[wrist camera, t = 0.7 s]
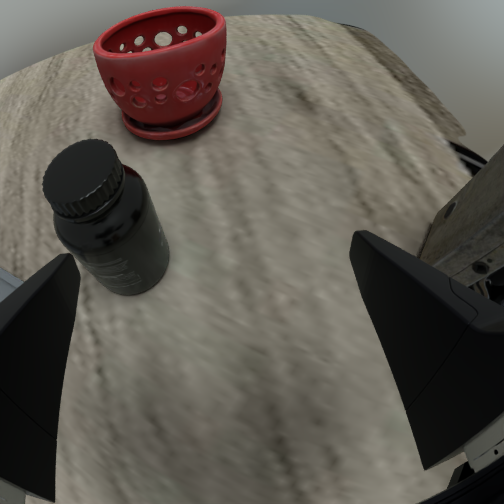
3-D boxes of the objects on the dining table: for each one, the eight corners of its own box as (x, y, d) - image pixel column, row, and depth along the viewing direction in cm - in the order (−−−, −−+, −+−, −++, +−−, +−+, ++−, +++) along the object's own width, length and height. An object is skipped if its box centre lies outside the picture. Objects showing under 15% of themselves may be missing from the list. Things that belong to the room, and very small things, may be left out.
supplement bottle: (185, 242, 27) (160, 143, 16) (143, 311, 24) (80, 245, 13) (124, 212, 28) (79, 116, 17) (82, 273, 25) (8, 197, 14)
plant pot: (235, 85, 36) (238, 3, 25) (210, 158, 31) (206, 56, 20) (141, 81, 36) (128, 6, 26) (99, 148, 31) (65, 62, 20)
